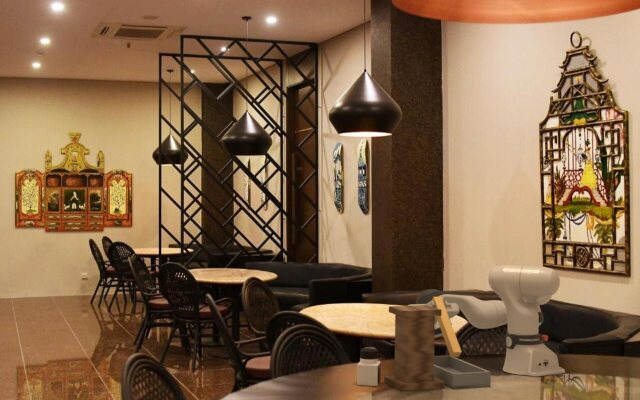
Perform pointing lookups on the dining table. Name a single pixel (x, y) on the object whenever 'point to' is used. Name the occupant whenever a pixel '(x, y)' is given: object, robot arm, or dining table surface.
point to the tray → (460, 373)
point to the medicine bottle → (369, 368)
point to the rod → (447, 329)
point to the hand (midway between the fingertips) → (439, 302)
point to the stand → (414, 348)
